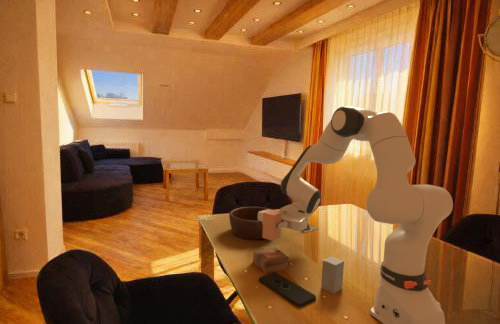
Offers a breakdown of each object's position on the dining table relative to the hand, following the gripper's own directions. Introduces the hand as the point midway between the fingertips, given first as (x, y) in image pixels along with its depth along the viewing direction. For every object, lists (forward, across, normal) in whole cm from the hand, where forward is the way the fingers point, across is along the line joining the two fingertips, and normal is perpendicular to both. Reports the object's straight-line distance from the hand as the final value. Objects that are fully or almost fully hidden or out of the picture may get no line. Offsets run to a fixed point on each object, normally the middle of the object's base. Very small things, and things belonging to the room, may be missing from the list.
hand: (270, 224), depth 122 cm
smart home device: (+11, +14, +18) cm, 25 cm away
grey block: (0, +26, +17) cm, 31 cm away
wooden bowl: (-26, -26, +17) cm, 41 cm away
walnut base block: (-1, 0, +17) cm, 17 cm away
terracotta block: (-1, 0, +6) cm, 6 cm away
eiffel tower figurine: (-50, -10, +18) cm, 54 cm away
